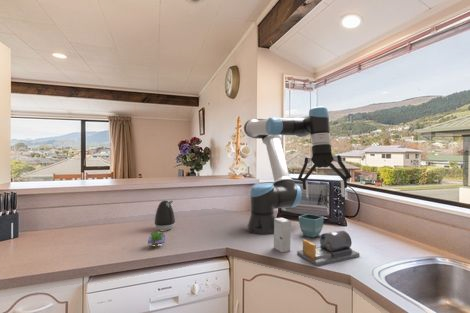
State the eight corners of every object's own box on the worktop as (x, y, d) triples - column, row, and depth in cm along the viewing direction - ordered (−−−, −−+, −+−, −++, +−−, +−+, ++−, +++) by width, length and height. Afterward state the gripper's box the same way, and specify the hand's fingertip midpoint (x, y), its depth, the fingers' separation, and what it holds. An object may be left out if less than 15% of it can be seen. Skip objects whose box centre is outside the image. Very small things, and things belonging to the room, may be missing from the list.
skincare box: (273, 247, 101) (273, 218, 101) (282, 245, 103) (281, 217, 103) (282, 252, 96) (281, 222, 96) (291, 250, 98) (291, 220, 98)
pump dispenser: (179, 228, 129) (179, 199, 129) (164, 234, 121) (163, 203, 121) (166, 225, 135) (165, 198, 135) (150, 230, 126) (150, 201, 126)
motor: (297, 254, 95) (297, 232, 94) (337, 246, 102) (337, 226, 102) (316, 265, 84) (316, 242, 84) (359, 256, 92) (359, 234, 92)
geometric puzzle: (163, 246, 99) (164, 226, 103) (145, 247, 97) (147, 227, 102) (165, 251, 104) (166, 232, 109) (148, 252, 103) (150, 233, 108)
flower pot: (307, 231, 122) (307, 213, 122) (324, 235, 116) (324, 216, 116) (298, 235, 116) (298, 216, 116) (315, 240, 110) (315, 220, 110)
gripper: (289, 146, 100) (293, 198, 97) (356, 141, 94) (361, 197, 92) (290, 148, 107) (293, 197, 105) (352, 143, 101) (356, 195, 99)
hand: (325, 197), depth 98 cm, fingers open, 13 cm apart
